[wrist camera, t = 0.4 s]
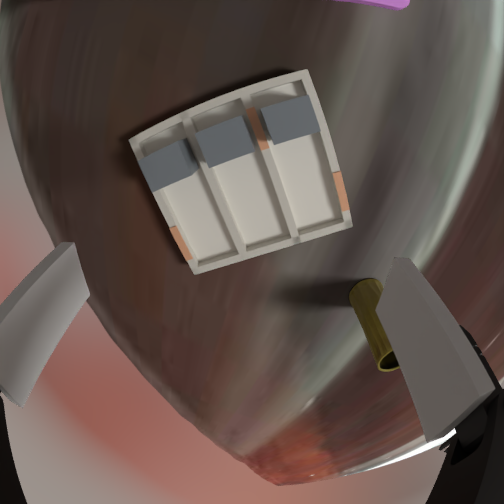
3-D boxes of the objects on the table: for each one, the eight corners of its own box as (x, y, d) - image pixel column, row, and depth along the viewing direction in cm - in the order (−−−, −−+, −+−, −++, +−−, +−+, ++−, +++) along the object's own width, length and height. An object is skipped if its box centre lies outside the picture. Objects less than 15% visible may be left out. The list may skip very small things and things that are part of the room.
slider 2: (202, 131, 29) (194, 133, 25) (243, 115, 28) (241, 115, 24) (214, 161, 30) (209, 168, 27) (255, 146, 29) (255, 151, 26)
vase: (342, 304, 43) (366, 373, 30) (358, 274, 40) (390, 342, 27) (372, 309, 43) (400, 373, 31) (388, 281, 40) (425, 344, 28)
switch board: (137, 137, 30) (127, 139, 28) (303, 72, 26) (307, 68, 24) (198, 264, 39) (194, 275, 37) (346, 218, 35) (353, 227, 33)
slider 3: (260, 109, 27) (260, 108, 24) (302, 96, 26) (308, 94, 23) (271, 141, 29) (274, 145, 26) (313, 129, 28) (321, 131, 25)
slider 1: (150, 154, 30) (137, 160, 26) (186, 137, 29) (176, 141, 25) (163, 183, 32) (152, 192, 28) (199, 167, 31) (191, 175, 27)
